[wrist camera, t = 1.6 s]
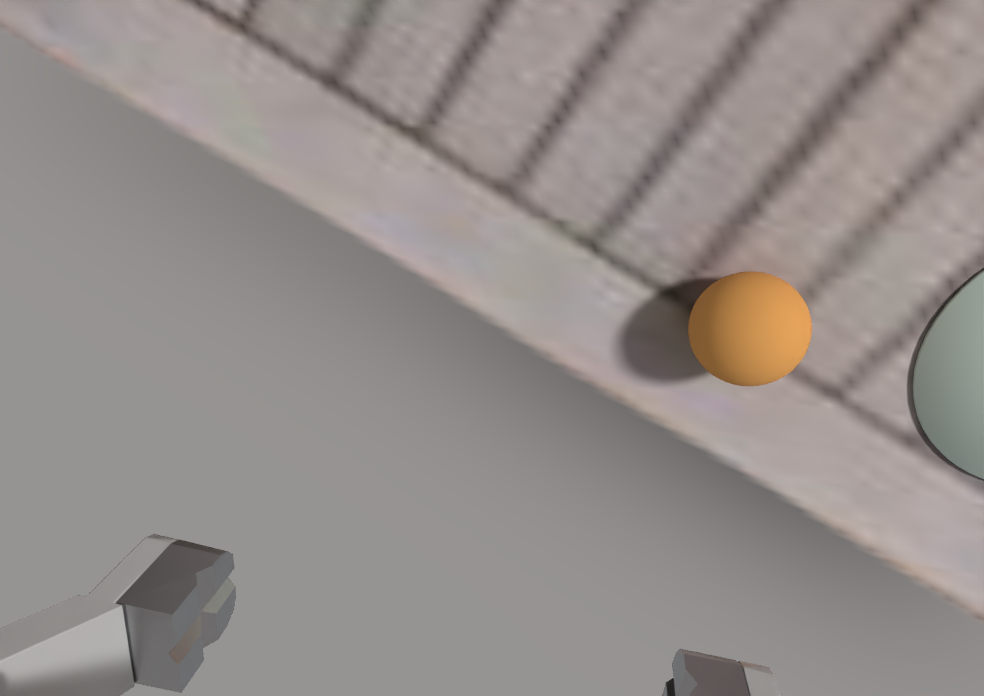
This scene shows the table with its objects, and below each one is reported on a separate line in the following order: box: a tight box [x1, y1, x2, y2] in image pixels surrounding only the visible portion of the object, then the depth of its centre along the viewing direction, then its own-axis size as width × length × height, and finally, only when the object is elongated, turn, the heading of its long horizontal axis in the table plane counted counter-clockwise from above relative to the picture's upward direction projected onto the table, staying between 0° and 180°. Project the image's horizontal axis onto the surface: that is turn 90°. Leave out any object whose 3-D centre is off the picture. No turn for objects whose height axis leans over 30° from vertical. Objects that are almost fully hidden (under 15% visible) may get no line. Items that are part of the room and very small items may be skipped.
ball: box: [688, 272, 812, 386], centre depth 28 cm, size 5×5×5 cm
